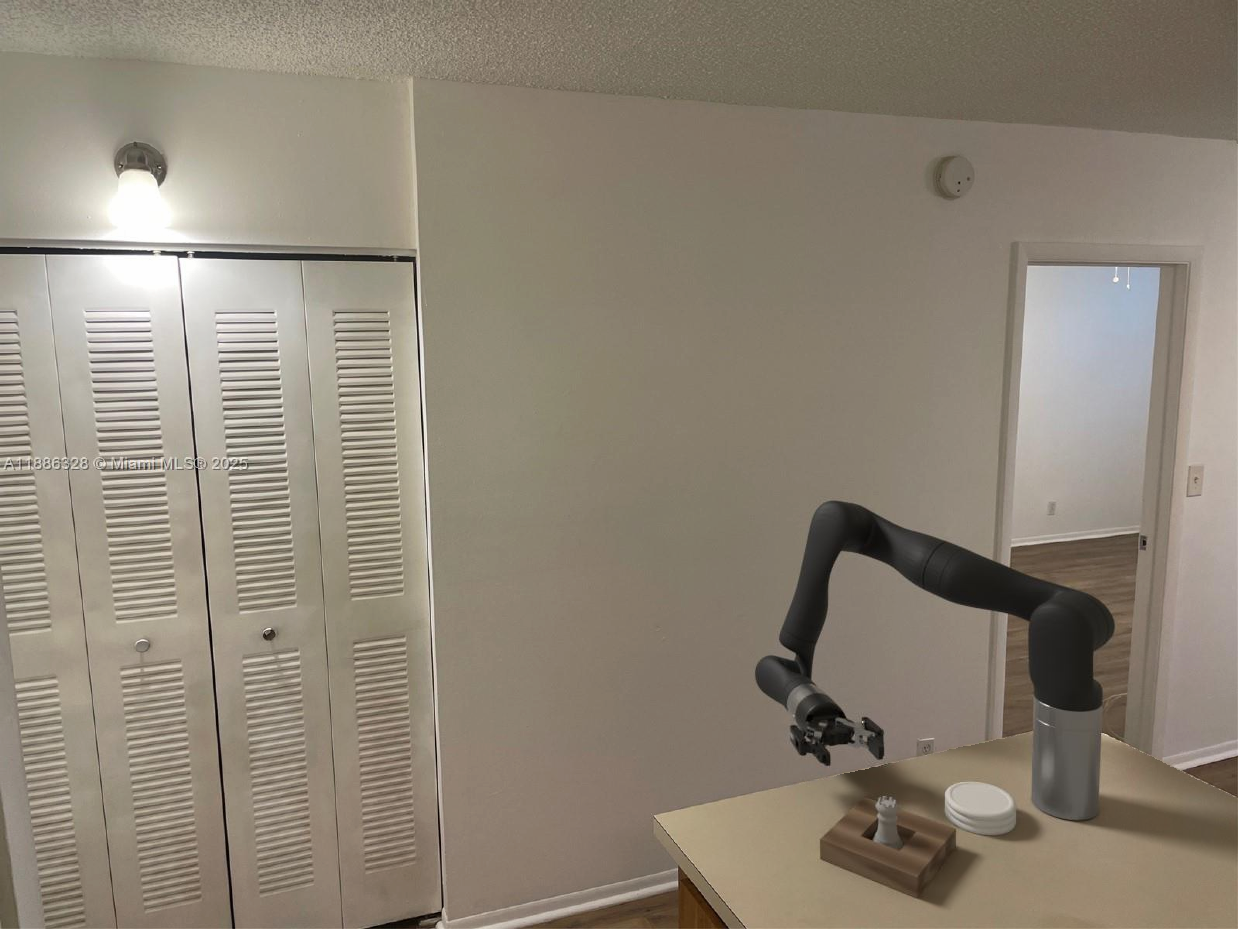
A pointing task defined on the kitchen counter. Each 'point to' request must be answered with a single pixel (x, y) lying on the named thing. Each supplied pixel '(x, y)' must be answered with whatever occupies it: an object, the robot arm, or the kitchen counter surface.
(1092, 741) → the robot arm
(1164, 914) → the kitchen counter surface
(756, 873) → the kitchen counter surface
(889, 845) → the rook chess piece
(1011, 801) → the coaster
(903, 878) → the socket block
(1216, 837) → the kitchen counter surface
